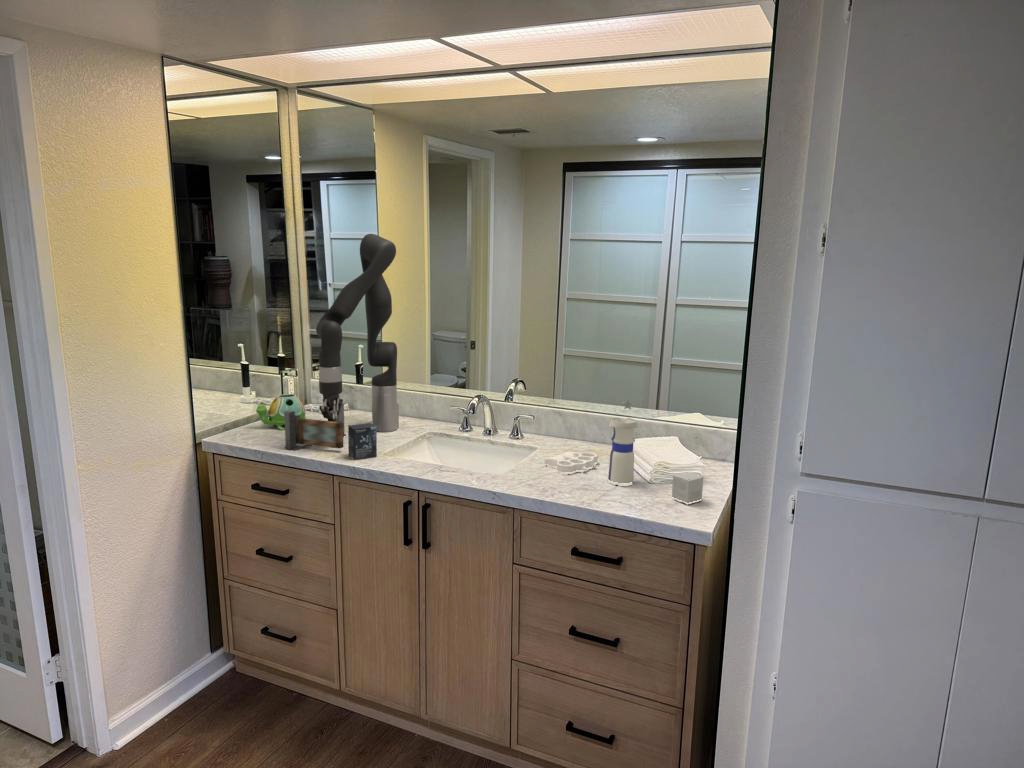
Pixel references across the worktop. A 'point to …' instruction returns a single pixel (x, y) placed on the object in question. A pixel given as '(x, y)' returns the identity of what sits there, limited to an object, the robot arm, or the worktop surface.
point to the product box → (687, 487)
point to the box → (362, 441)
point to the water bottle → (622, 449)
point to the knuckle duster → (573, 461)
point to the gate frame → (291, 432)
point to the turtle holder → (281, 410)
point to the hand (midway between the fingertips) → (332, 429)
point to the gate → (319, 432)
